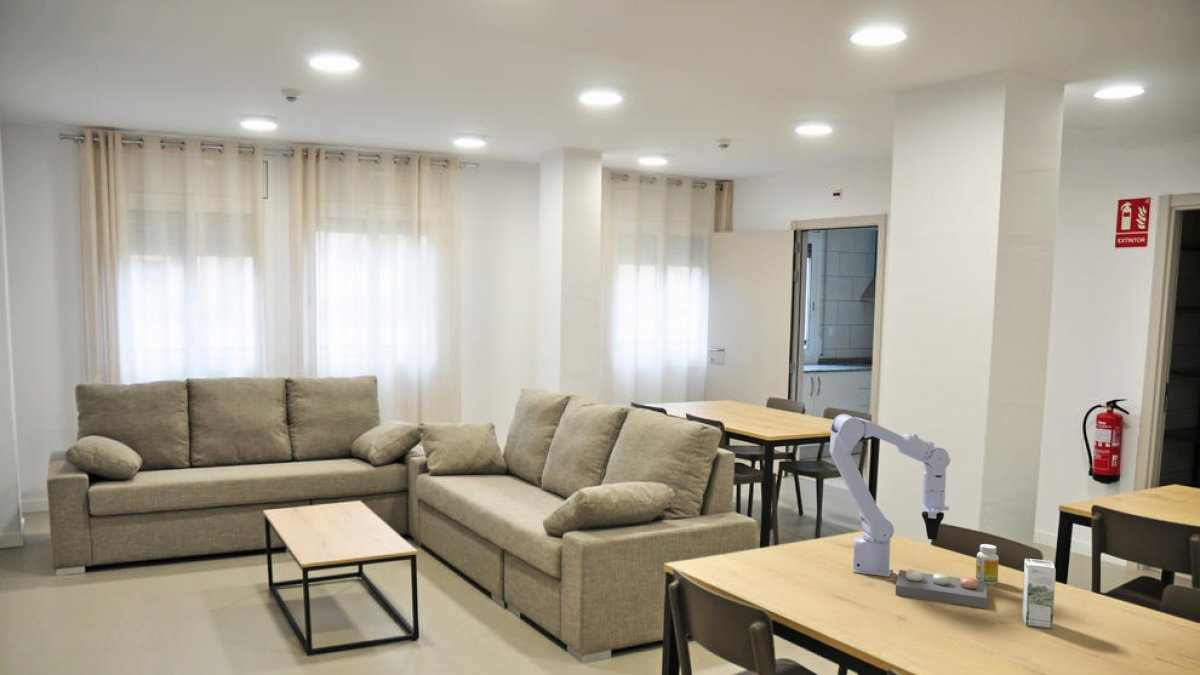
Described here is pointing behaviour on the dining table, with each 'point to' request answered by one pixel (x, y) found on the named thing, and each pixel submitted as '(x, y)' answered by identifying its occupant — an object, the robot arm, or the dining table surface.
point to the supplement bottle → (987, 564)
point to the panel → (942, 590)
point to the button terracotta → (969, 583)
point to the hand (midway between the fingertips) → (931, 538)
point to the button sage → (941, 579)
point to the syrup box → (1038, 593)
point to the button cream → (914, 575)
